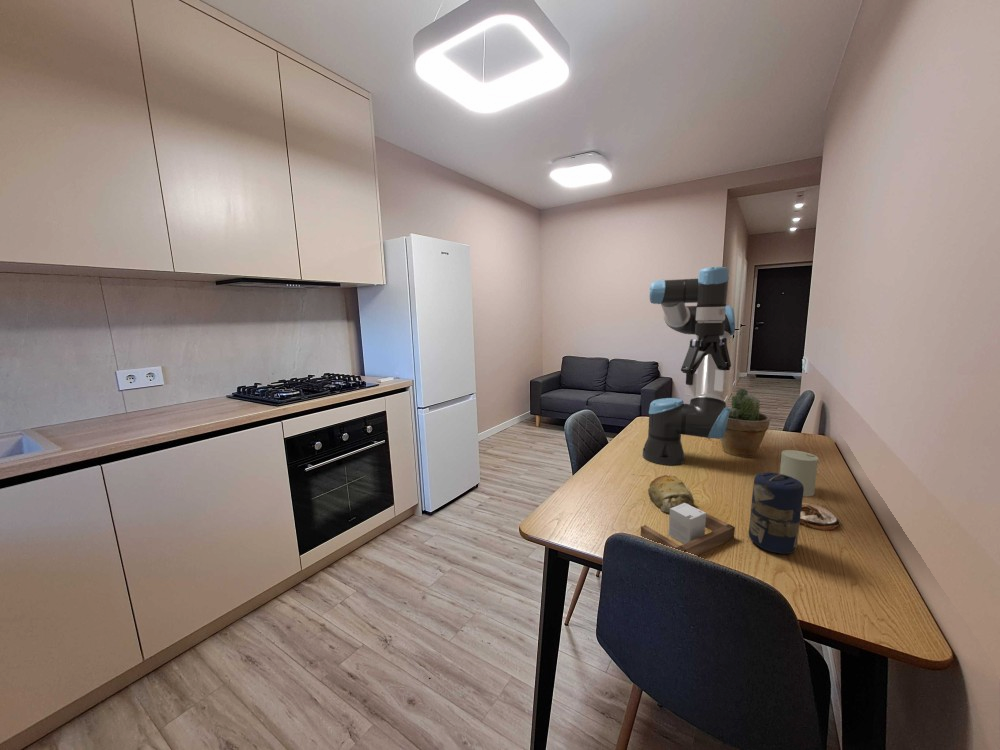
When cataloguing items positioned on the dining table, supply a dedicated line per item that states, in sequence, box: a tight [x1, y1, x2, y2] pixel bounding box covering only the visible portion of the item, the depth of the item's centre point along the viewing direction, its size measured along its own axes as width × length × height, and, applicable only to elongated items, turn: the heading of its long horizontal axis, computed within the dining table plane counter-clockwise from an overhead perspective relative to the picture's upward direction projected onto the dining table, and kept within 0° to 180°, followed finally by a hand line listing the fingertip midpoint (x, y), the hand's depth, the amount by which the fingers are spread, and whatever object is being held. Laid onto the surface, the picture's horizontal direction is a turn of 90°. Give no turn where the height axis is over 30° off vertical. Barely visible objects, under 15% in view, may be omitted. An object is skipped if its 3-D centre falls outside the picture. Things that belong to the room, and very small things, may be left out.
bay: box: [640, 512, 736, 556], centre depth 94 cm, size 12×20×3 cm, turn 118°
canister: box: [748, 471, 804, 555], centre depth 90 cm, size 10×10×18 cm
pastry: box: [647, 474, 695, 514], centre depth 111 cm, size 14×12×8 cm
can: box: [779, 449, 819, 498], centre depth 118 cm, size 9×9×12 cm
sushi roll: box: [799, 502, 840, 531], centre depth 103 cm, size 15×15×4 cm
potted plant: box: [719, 388, 772, 458], centre depth 150 cm, size 18×19×25 cm
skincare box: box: [667, 503, 707, 544], centre depth 94 cm, size 6×6×7 cm
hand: (705, 393), depth 114 cm, fingers open, 13 cm apart
